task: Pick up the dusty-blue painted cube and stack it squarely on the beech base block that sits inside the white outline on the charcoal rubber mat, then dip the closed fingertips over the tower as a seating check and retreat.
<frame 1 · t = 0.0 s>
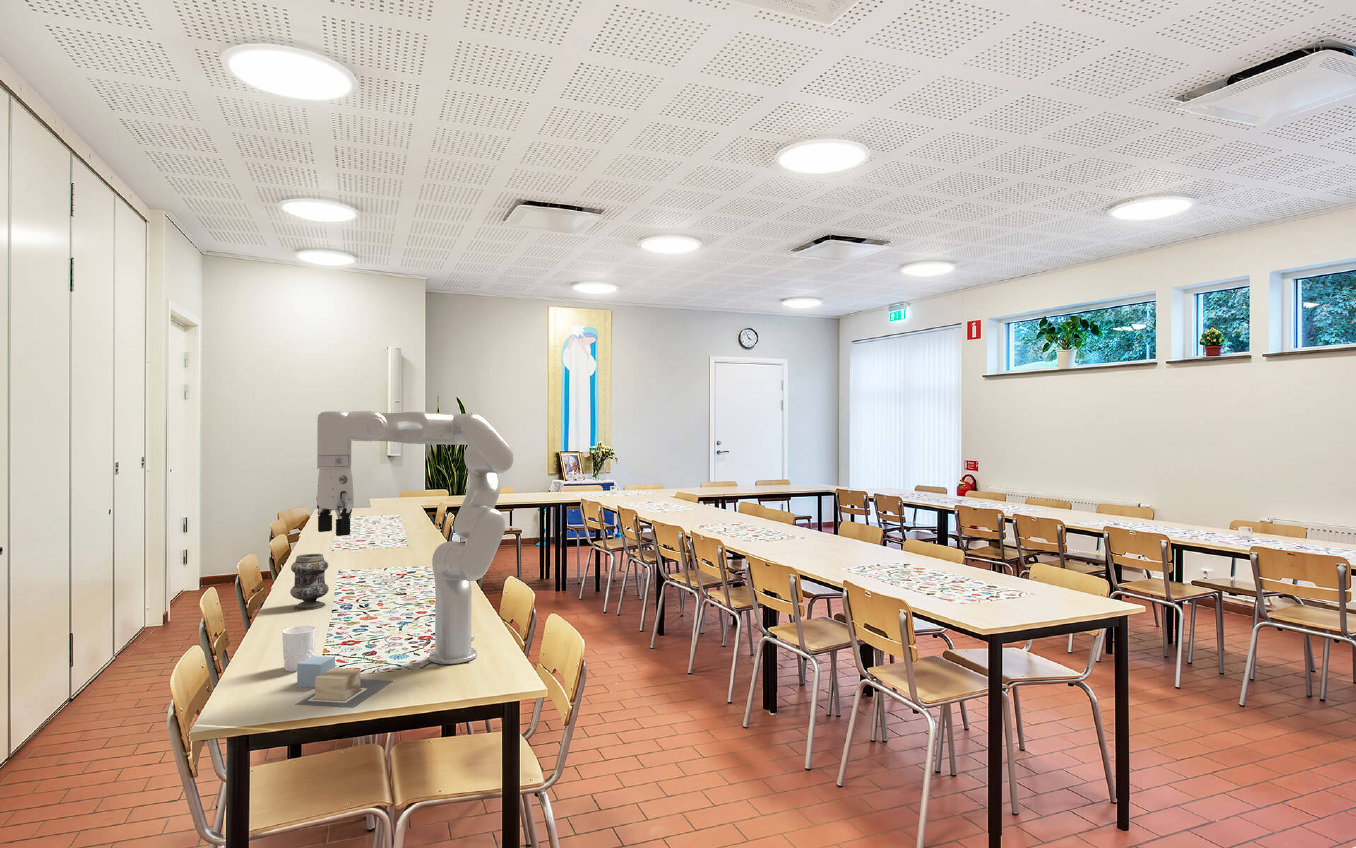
hand: (333, 533, 182), 37 cm above the table, tool pointing down, fingers open, 9 cm apart
white cup: (299, 668, 197), on the table
blue block: (316, 684, 184), on the table
mat: (346, 693, 178), on the table
apothecary jar: (309, 607, 263), on the table
base block: (338, 694, 176), resting on mat
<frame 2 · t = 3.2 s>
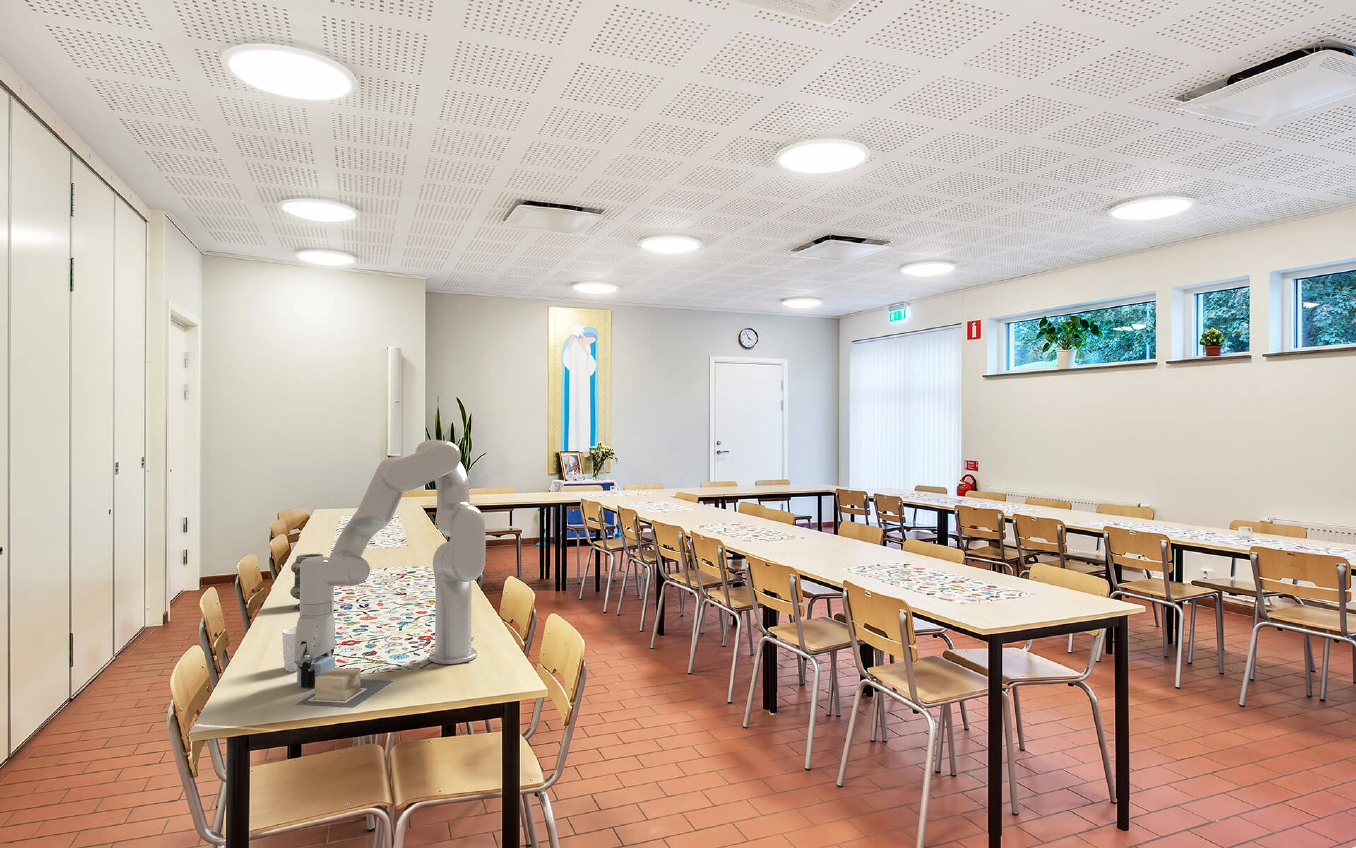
hand: (316, 681, 184), 1 cm above the table, tool pointing down, fingers closed on blue block, 6 cm apart
blue block: (316, 684, 184), on the table, touching gripper
everything else where it was.
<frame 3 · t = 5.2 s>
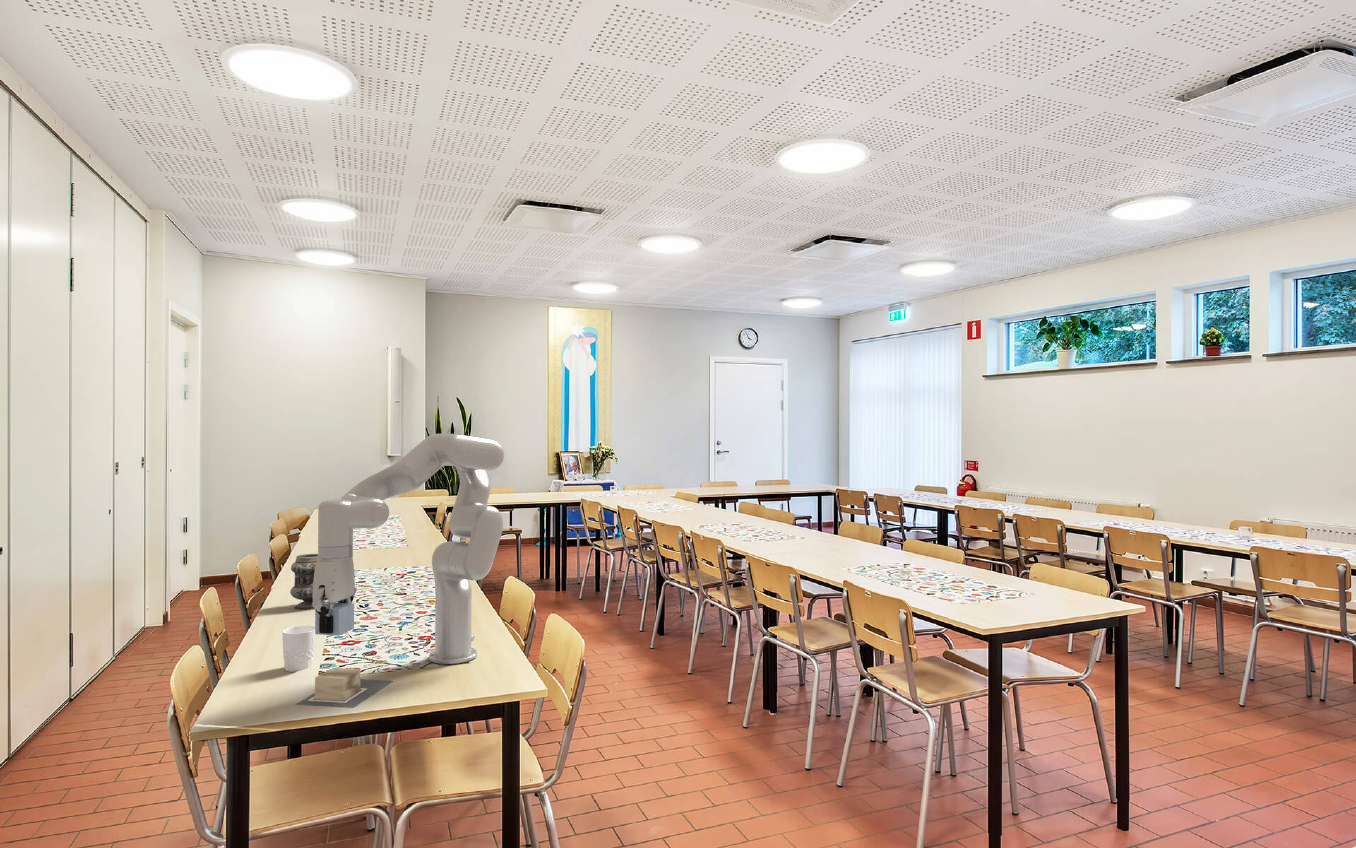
hand: (335, 628, 177), 16 cm above the table, tool pointing down, fingers closed on blue block, 6 cm apart
blue block: (334, 631, 177), point 15 cm above the table, touching gripper
everything else where it was.
when the fingers open (7 cm above the table, at t = 7.4 s): blue block drops 1 cm, resting on base block.
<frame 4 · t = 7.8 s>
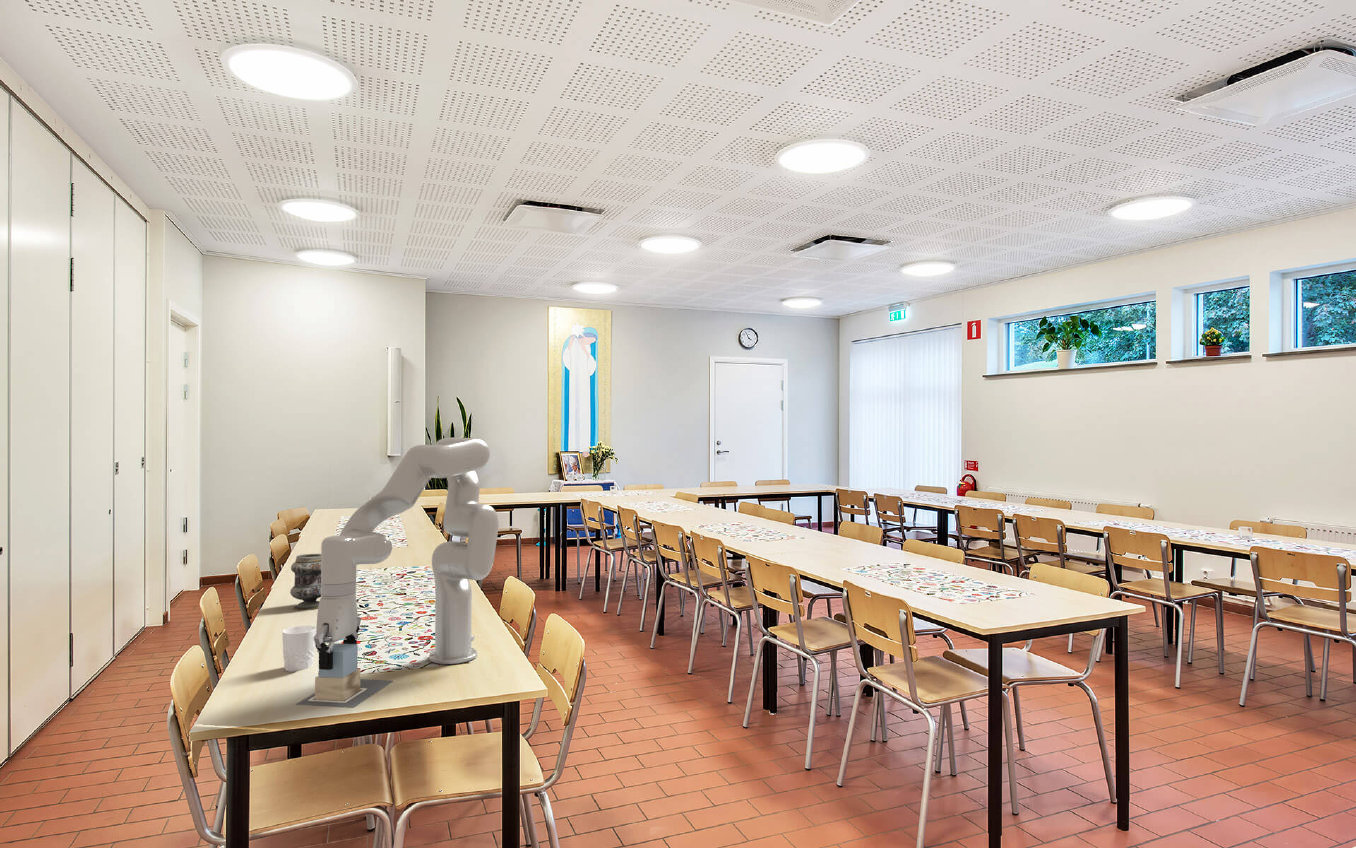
hand: (338, 662, 176), 8 cm above the table, tool pointing down, fingers open, 9 cm apart
blue block: (338, 673, 176), point 5 cm above the table, touching base block
base block: (338, 694, 176), resting on mat, touching blue block
everything else where it was.
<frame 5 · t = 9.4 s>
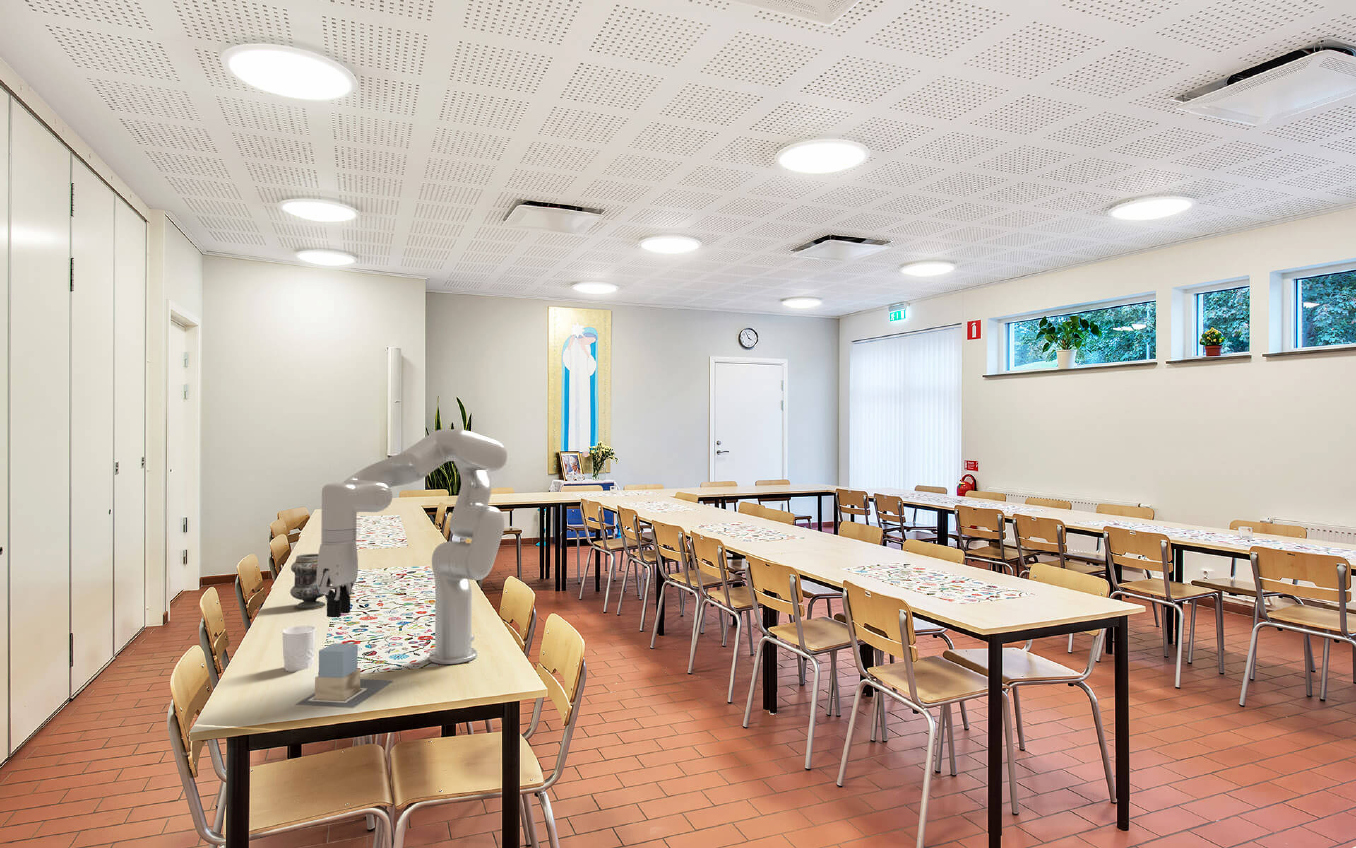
hand: (338, 614, 176), 19 cm above the table, tool pointing down, fingers open, 3 cm apart
nothing on the table moved.
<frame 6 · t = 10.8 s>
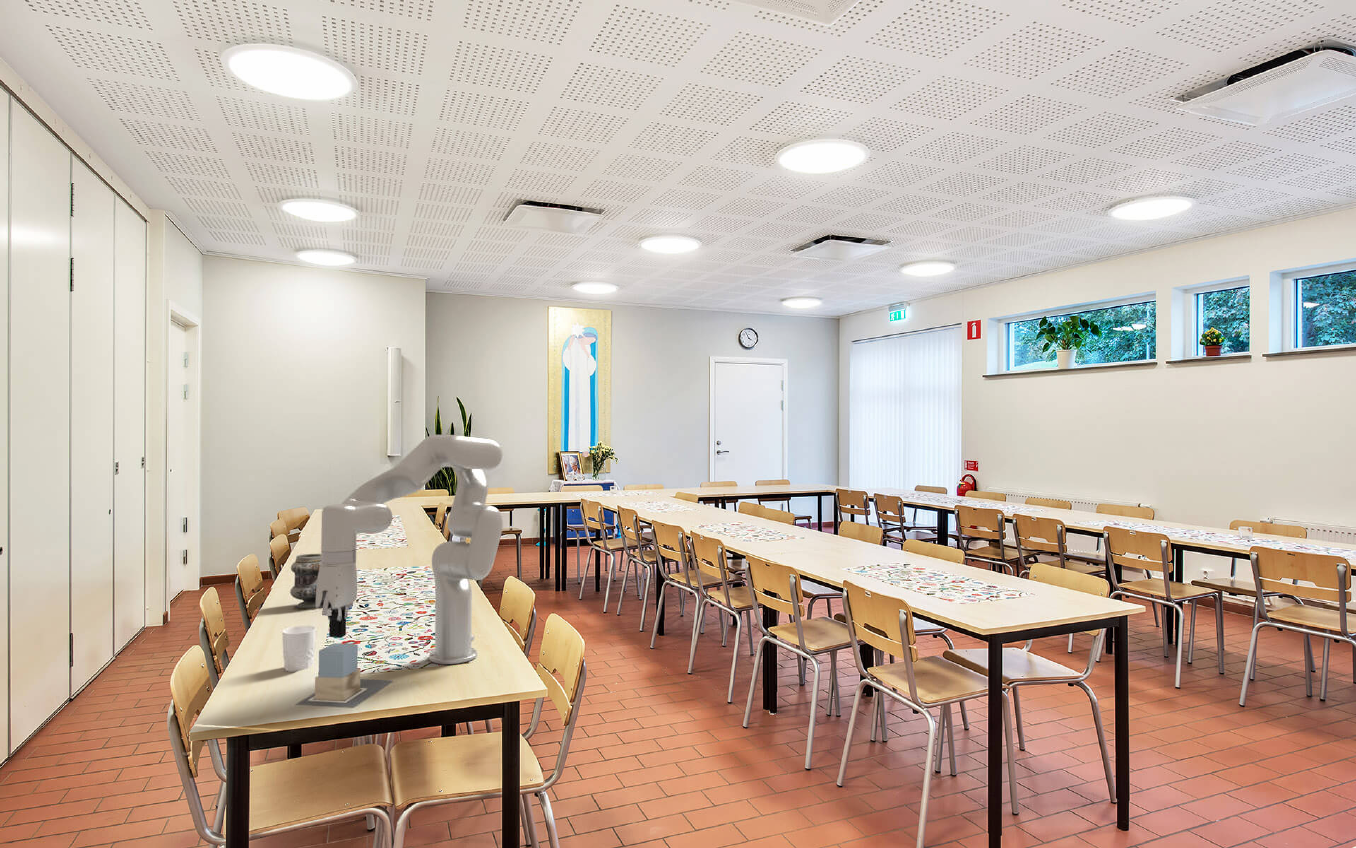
hand: (337, 636, 176), 14 cm above the table, tool pointing down, fingers closed
nothing on the table moved.
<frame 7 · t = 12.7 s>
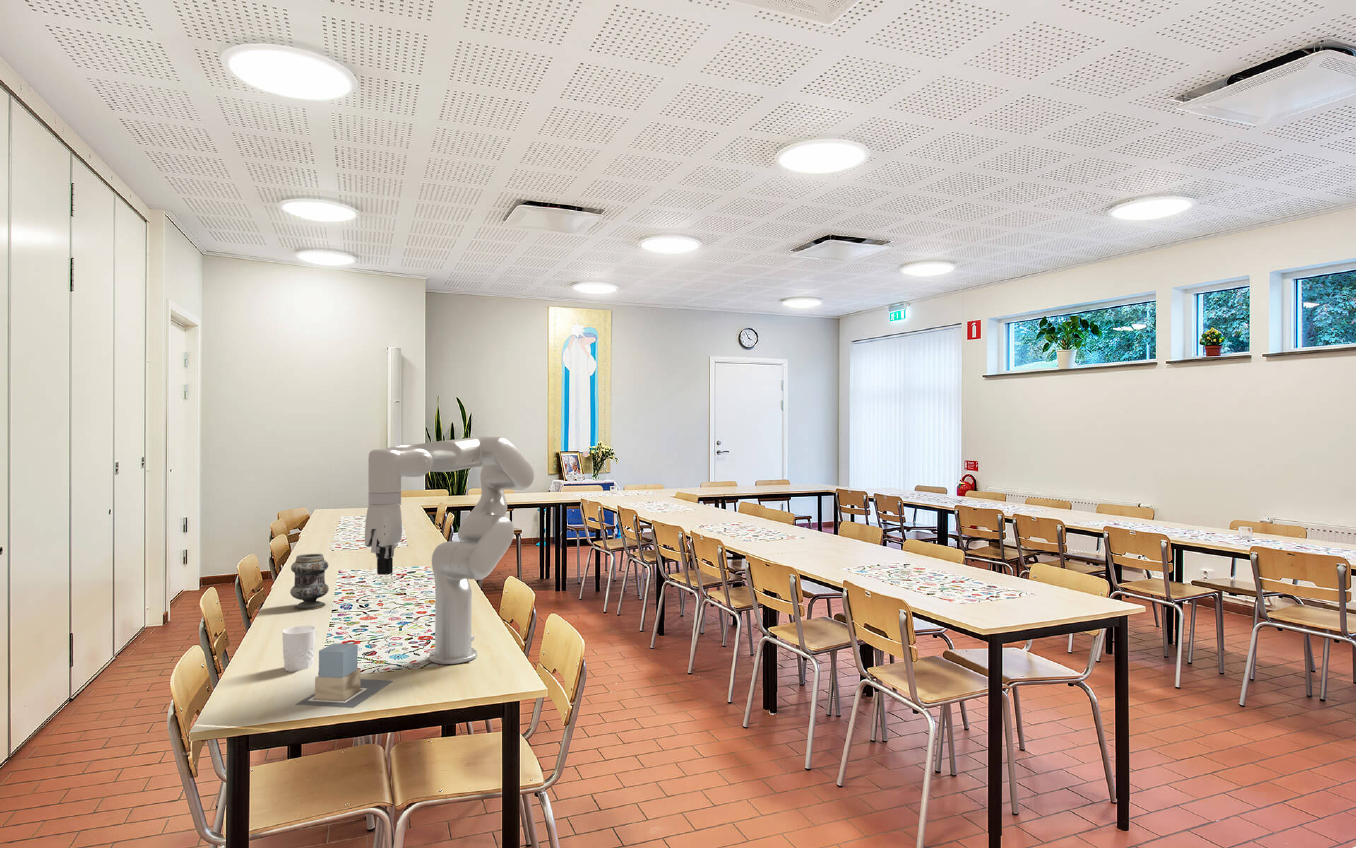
hand: (384, 573, 185), 27 cm above the table, tool pointing down, fingers closed
nothing on the table moved.
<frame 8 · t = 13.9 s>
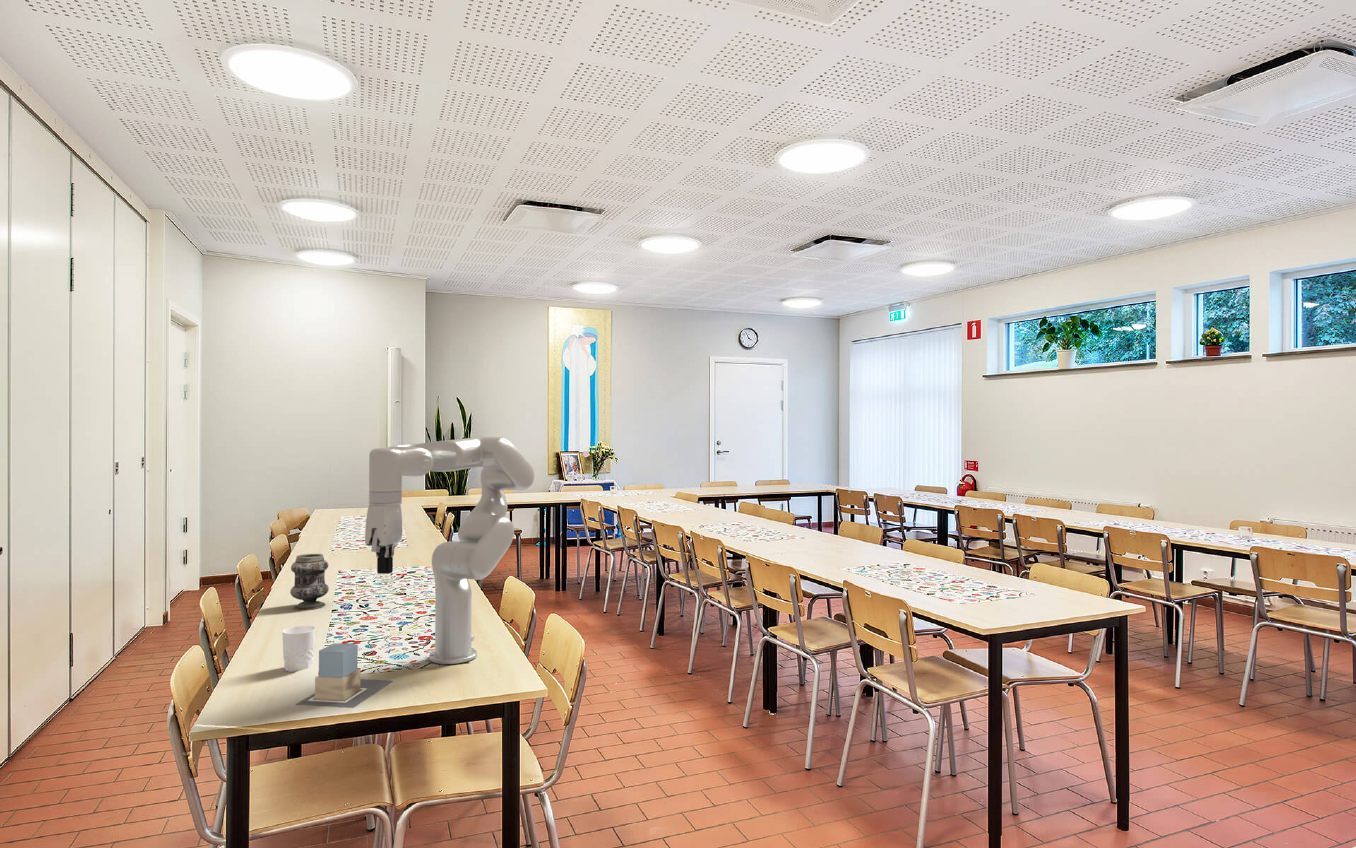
hand: (384, 573, 185), 27 cm above the table, tool pointing down, fingers closed
nothing on the table moved.
at the end: blue block 0.1 cm off-centre on the base block, point 5.0 cm above the base block's base; blue block tilted 0°; base block inside the target area on the mat (0.0 cm from its centre), point 0.4 cm above the mat's base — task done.
